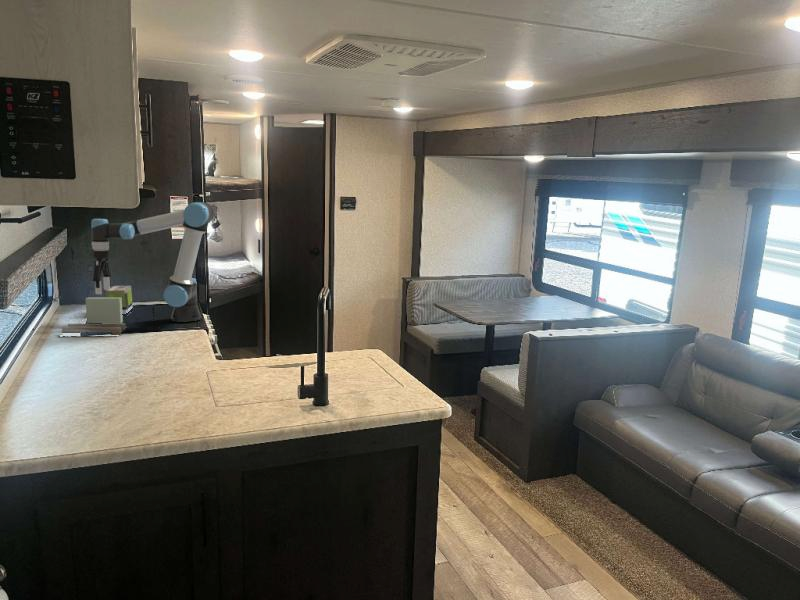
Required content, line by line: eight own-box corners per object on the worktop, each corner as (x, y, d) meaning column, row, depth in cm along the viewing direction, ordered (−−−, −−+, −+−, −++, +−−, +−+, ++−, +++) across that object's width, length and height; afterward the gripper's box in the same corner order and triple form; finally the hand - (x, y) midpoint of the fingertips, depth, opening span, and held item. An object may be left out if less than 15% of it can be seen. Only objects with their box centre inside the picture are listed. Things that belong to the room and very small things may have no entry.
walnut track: (72, 328, 301) (71, 321, 301) (128, 328, 306) (127, 321, 305) (58, 337, 284) (58, 330, 283) (118, 336, 288) (117, 329, 288)
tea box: (114, 311, 345) (113, 285, 342) (133, 311, 347) (132, 285, 344) (106, 316, 330) (105, 289, 328) (126, 316, 332) (125, 289, 329)
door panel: (89, 324, 312) (88, 297, 309) (122, 324, 315) (121, 297, 312) (87, 326, 308) (85, 298, 305) (120, 325, 311) (119, 298, 308)
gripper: (100, 247, 316) (102, 287, 320) (84, 252, 292) (86, 296, 295) (115, 247, 317) (117, 287, 321) (101, 252, 293) (103, 296, 297)
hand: (102, 291), depth 308 cm, fingers open, 13 cm apart
